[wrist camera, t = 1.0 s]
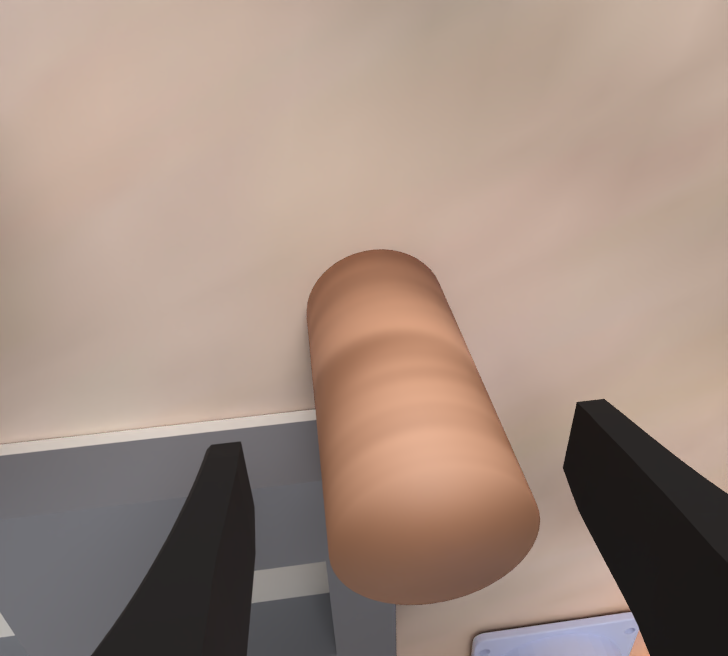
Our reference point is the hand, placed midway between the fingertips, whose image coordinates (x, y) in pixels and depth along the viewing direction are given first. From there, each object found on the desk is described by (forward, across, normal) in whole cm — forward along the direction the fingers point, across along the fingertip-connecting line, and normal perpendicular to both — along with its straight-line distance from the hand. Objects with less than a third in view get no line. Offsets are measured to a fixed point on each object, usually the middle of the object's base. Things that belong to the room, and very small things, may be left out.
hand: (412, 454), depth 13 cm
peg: (+6, 0, 0) cm, 6 cm away
